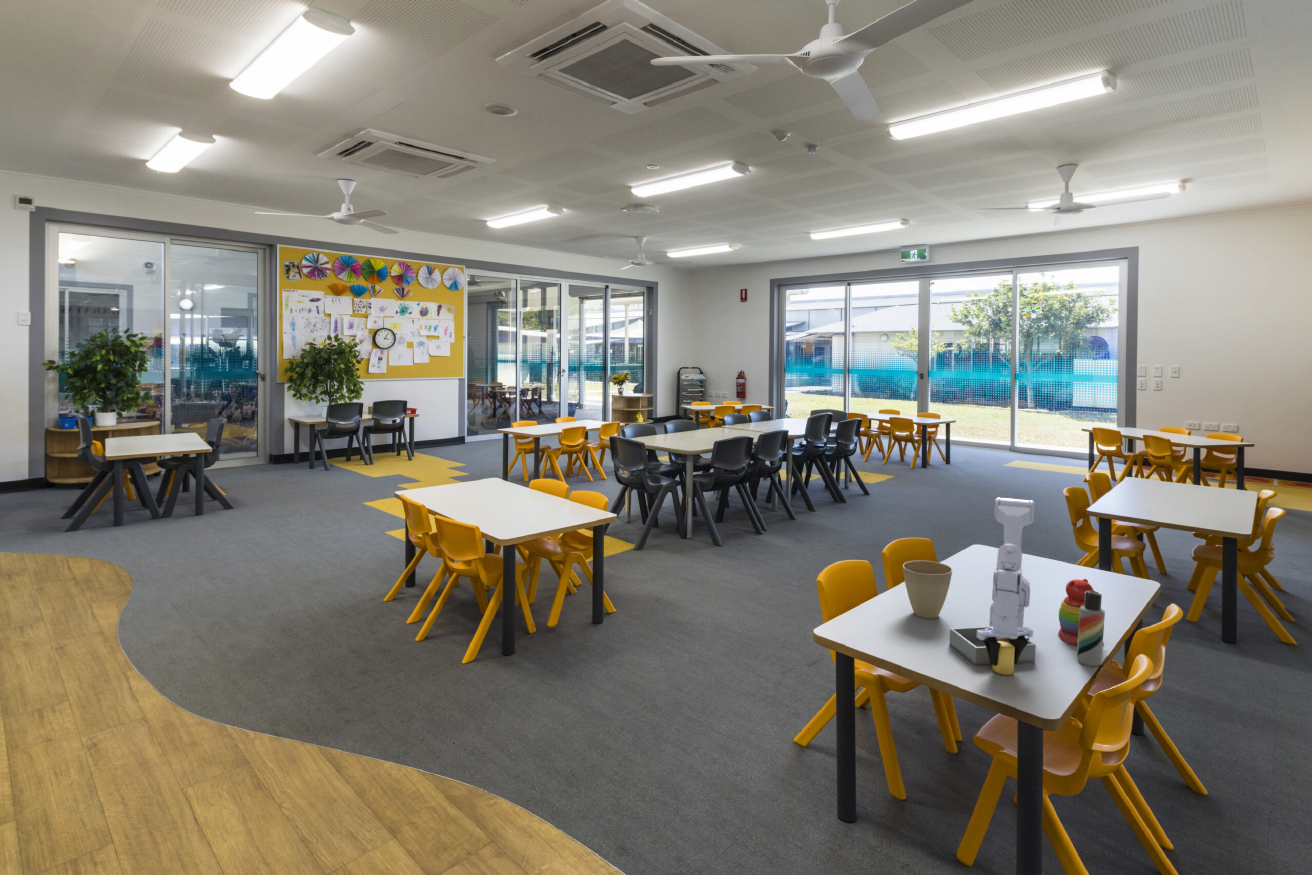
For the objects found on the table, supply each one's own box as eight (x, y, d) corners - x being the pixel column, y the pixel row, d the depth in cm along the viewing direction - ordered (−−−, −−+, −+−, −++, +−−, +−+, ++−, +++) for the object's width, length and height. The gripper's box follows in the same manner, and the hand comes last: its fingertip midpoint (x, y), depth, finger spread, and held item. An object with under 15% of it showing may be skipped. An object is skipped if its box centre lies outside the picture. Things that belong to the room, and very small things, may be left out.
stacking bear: (1073, 646, 192) (1077, 587, 190) (1047, 632, 202) (1051, 575, 200) (1106, 643, 194) (1110, 584, 192) (1079, 630, 204) (1083, 573, 202)
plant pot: (920, 603, 227) (922, 557, 226) (960, 617, 215) (962, 569, 213) (891, 611, 220) (892, 565, 218) (930, 627, 207) (932, 577, 205)
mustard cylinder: (988, 666, 180) (989, 641, 179) (1006, 665, 180) (1007, 640, 179) (999, 675, 175) (1001, 649, 174) (1017, 674, 175) (1019, 648, 174)
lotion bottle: (1073, 656, 186) (1078, 587, 183) (1097, 658, 184) (1102, 589, 182) (1080, 665, 180) (1084, 594, 178) (1104, 668, 179) (1109, 596, 176)
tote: (975, 665, 181) (975, 647, 181) (949, 644, 194) (950, 628, 194) (1034, 661, 183) (1035, 644, 182) (1005, 641, 196) (1006, 625, 195)
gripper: (988, 621, 171) (986, 671, 172) (1041, 618, 172) (1038, 668, 174) (973, 611, 178) (970, 659, 179) (1024, 608, 179) (1021, 656, 181)
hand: (1003, 663), depth 177 cm, fingers closed on mustard cylinder, 5 cm apart
